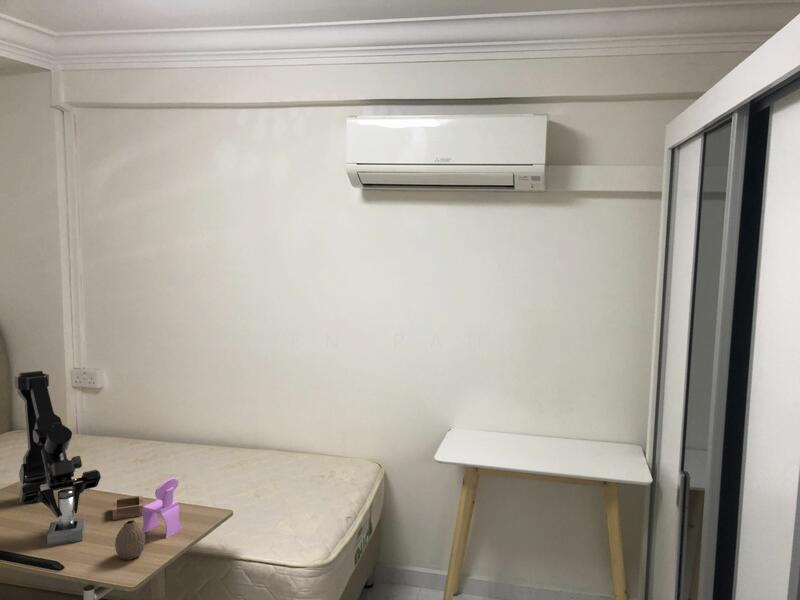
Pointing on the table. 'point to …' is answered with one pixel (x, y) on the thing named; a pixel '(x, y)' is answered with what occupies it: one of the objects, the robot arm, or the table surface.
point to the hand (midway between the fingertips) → (67, 514)
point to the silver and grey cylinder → (66, 509)
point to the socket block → (65, 533)
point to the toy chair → (163, 508)
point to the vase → (130, 541)
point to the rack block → (127, 507)
